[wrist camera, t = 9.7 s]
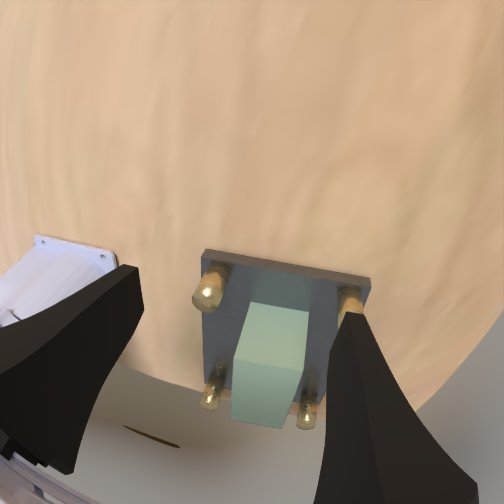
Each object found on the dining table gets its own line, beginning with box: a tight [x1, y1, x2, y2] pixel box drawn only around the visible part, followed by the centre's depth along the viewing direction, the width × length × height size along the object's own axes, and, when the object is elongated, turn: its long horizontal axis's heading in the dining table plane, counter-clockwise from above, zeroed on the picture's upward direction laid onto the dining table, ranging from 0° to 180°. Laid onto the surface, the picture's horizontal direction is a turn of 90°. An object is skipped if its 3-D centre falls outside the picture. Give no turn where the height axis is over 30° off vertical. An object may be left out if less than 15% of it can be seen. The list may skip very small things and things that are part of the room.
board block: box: [230, 302, 309, 429], centre depth 21 cm, size 4×8×5 cm, turn 175°
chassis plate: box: [192, 249, 371, 430], centre depth 23 cm, size 11×15×4 cm
